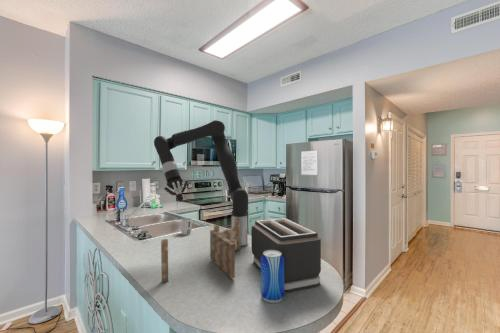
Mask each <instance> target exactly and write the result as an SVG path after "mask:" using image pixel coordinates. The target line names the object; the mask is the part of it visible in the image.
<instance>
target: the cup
mask: <svg viewBox="0 0 500 333" xmlns="http://www.w3.org/2000/svg"><path fill="white" fill-rule="evenodd" d="M179 224H180V229H181V233H182V236H189V235H190V234H191V233H192V227H193V218H190V217H185V218H181V219H179Z"/></svg>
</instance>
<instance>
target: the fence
mask: <svg viewBox="0 0 500 333" xmlns="http://www.w3.org/2000/svg"><path fill="white" fill-rule="evenodd" d="M213 230H214V232H215V231H216V232H217V233H219V234H220V235H222V236H224V237H225V238H227V239H228V240H230V241H231V242H233V243H235V252H239V251H240V250H241V249H240V247H241V246H240V234H239V219H235V227H233V228H232V227H231V228H228V229H224V230H222V231H220V225H219V224H214V225H213ZM160 247H161V248H160V249H161V250H160V253H161V255H160V257H161V258H160V260H161V262H160V263H161V283H162V284H166V283H169V239H167V238H165V239H161V240H160Z"/></svg>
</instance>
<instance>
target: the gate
mask: <svg viewBox="0 0 500 333" xmlns="http://www.w3.org/2000/svg"><path fill="white" fill-rule="evenodd" d="M209 244H210V245H209V248H210V249H209V250H210V253H209V256H210V258H209V259H210V260H212V262H213V263H214V264H215V265H217V267H219V268H220V269H221V270H222V271H223V272H224V273H225V274H226V275H227V276H228V277H229V278H231V279H235V278H236V277H235V275H236V265H235V264H236V262H235V260H236V258H235V256H236V251H235V243H233V242H231V241H230V240H228V239H227V238H225V237H224V236H222V235H220V234H219V233H217V232H216V231H215V232H214V229H213V230H212V229H211V230H210V231H209Z"/></svg>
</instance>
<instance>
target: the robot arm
mask: <svg viewBox="0 0 500 333" xmlns="http://www.w3.org/2000/svg"><path fill="white" fill-rule="evenodd" d="M225 130H226V125H225V124H224V122H223V121H222V120H219V119H214V120H212V121H210V122H208V123H206V124H203V125H201V126H198V127H196V128H191V129H187V130H183V131H180V132H175V133H173V134H172V135H171V136H170V137H168V138H166V137H165V136H163V135H157V136H156V137H155V138H154V140H153V144H154V145H153V146H154V148H155V150H156V153H157V155H158V157H159V160H160V164H161V168H162V171H163V174H164V178H165V180H166V186H164V188H163V190H164V191H165V192H166V193H168V194H169V195H172V196H175V197H176V200H177V201H178V202H179V203H182V202H183V201H184V197H183V196H184V195H183V193H184V192H185V190H186V187H187V186H188V180H187V181H185V180H183V178H182V177H181V174H180V171H179V168H178V165H177V163H176V161H175V159H174V156H173V153H172V152H171V150H173V149H175V148H177V147H178V146H183V145H187V144H190V143H193V142H195V141H198V140H199V139H203V138H207V137H211V139H212V141H213V144H214V147H215V151H216V155H217V159H218V163H219V165H220V168H221V172H222V174H223V177H224V178H225V182H226V184H227V186H228V187H227V188H228V191H229V192H228V193H229V196H230V200H231V201H232V210H231V228H233V227H235V219H239V234H240V247H245V246H248V245H249V243H248V238H249V236H248V235H249V234H248V232H249V230H248V212H249V195H248V192H247V191H246V190H245V189H243V188H242V185H241V182H240V180H239V176H238V173H239V172H238V166H237V162H236V159H235V156H234V154H233V151H232V150H231V148H230V146H229V144H228V142H227V138H226V136H225V135H226V134H225ZM182 186H183V187H182ZM181 187H182V188H181ZM171 189H172V190H171Z"/></svg>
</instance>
